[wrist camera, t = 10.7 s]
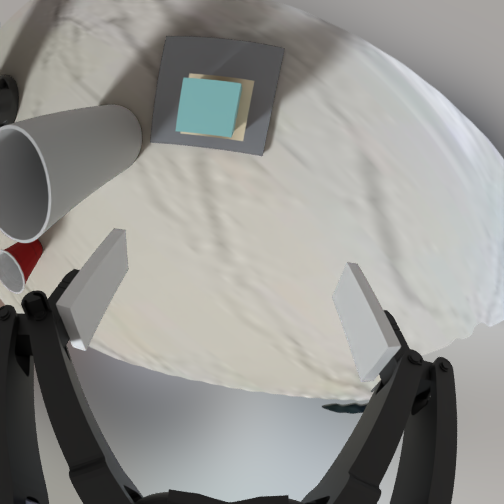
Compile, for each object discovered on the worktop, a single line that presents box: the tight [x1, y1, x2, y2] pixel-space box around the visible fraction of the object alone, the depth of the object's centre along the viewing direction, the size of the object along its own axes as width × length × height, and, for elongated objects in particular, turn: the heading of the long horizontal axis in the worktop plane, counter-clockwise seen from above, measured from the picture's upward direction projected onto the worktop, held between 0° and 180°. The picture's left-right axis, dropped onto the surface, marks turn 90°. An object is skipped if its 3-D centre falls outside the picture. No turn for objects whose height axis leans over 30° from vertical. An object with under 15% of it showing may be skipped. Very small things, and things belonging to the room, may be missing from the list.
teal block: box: [176, 78, 242, 138], centre depth 23 cm, size 5×5×6 cm
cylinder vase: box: [0, 104, 142, 243], centre depth 28 cm, size 12×12×25 cm
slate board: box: [150, 36, 285, 156], centre depth 35 cm, size 18×18×2 cm
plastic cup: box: [0, 239, 43, 294], centre depth 44 cm, size 11×11×12 cm
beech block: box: [180, 73, 254, 141], centre depth 28 cm, size 7×7×6 cm
